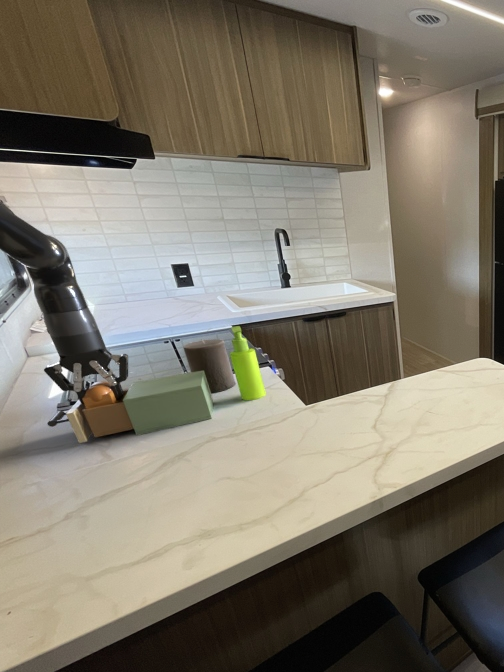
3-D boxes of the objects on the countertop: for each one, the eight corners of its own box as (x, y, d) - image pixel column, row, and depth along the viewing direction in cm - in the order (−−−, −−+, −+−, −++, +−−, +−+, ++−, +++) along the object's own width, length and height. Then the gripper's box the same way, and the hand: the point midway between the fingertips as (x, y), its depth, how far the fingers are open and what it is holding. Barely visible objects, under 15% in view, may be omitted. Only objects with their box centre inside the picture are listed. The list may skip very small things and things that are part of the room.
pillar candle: (222, 393, 115) (207, 343, 110) (189, 394, 115) (172, 344, 110) (243, 380, 124) (230, 334, 119) (212, 381, 125) (198, 334, 119)
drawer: (52, 449, 86) (37, 419, 84) (69, 427, 95) (56, 400, 93) (156, 426, 95) (146, 398, 92) (163, 408, 104) (153, 382, 102)
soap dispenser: (243, 403, 108) (223, 331, 101) (240, 395, 114) (221, 326, 106) (267, 397, 111) (250, 327, 104) (264, 390, 117) (247, 323, 110)
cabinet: (136, 435, 93) (122, 400, 90) (145, 414, 103) (133, 382, 100) (211, 418, 100) (201, 385, 97) (213, 400, 110) (203, 370, 107)
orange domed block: (87, 411, 89) (78, 391, 87) (96, 399, 95) (87, 381, 93) (114, 406, 91) (106, 386, 90) (121, 395, 97) (113, 376, 96)
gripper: (121, 322, 93) (146, 389, 100) (34, 332, 86) (67, 404, 93) (114, 328, 88) (141, 399, 94) (20, 340, 80) (56, 416, 87)
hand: (104, 401), depth 93 cm, fingers closed on orange domed block, 4 cm apart
